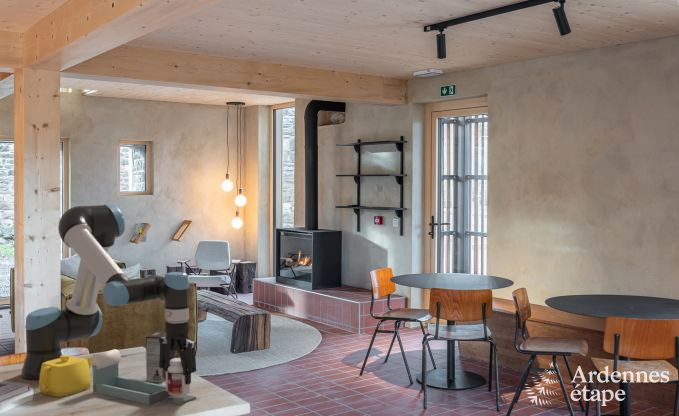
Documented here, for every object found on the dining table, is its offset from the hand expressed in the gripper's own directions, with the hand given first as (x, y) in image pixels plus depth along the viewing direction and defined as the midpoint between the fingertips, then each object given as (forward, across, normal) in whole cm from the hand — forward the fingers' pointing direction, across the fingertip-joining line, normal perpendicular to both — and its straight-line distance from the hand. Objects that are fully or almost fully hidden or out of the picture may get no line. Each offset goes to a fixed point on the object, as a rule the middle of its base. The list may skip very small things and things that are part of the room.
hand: (177, 391), depth 235 cm
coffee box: (+3, -22, +15) cm, 27 cm away
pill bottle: (+1, 0, 0) cm, 1 cm away
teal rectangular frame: (+3, -17, -3) cm, 17 cm away
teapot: (+3, -40, -10) cm, 41 cm away
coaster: (+3, 0, 0) cm, 3 cm away
